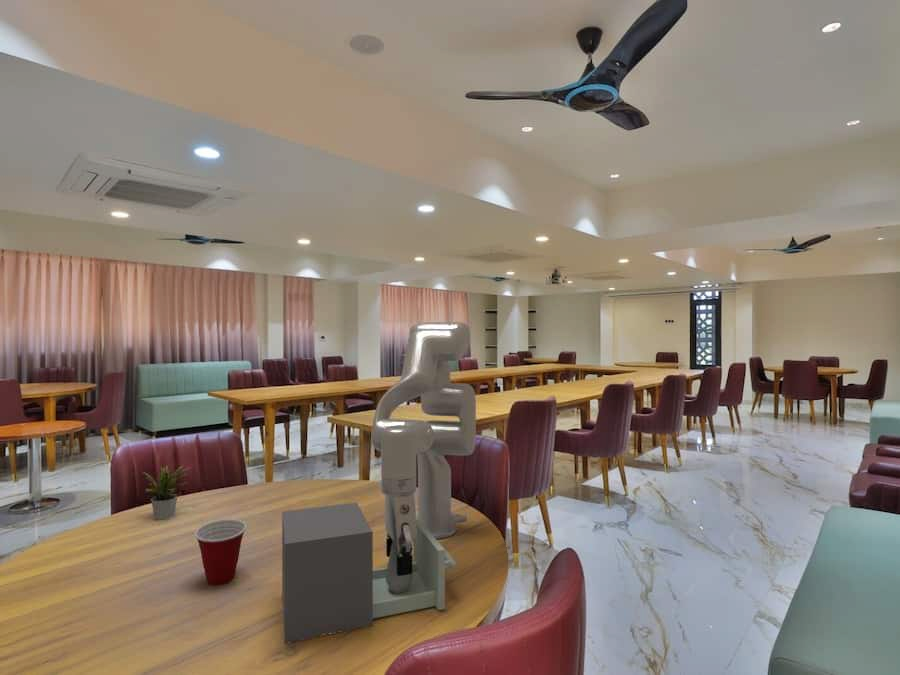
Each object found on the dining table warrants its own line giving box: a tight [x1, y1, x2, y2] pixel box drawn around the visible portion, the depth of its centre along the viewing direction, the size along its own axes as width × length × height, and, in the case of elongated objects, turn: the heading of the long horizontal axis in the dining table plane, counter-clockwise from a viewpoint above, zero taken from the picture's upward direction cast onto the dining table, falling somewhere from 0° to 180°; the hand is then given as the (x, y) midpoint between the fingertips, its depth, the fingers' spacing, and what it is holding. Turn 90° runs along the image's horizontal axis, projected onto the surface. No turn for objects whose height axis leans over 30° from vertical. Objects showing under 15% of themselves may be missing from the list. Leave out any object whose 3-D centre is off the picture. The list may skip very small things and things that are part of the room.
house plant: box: [141, 464, 191, 521], centre depth 150 cm, size 14×14×16 cm
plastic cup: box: [194, 518, 247, 586], centre depth 111 cm, size 11×11×12 cm
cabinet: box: [281, 502, 374, 644], centre depth 99 cm, size 16×18×18 cm
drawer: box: [373, 518, 458, 620], centre depth 105 cm, size 20×18×12 cm
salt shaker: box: [386, 538, 413, 593], centre depth 105 cm, size 6×6×13 cm
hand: (398, 564), depth 104 cm, fingers open, 8 cm apart
